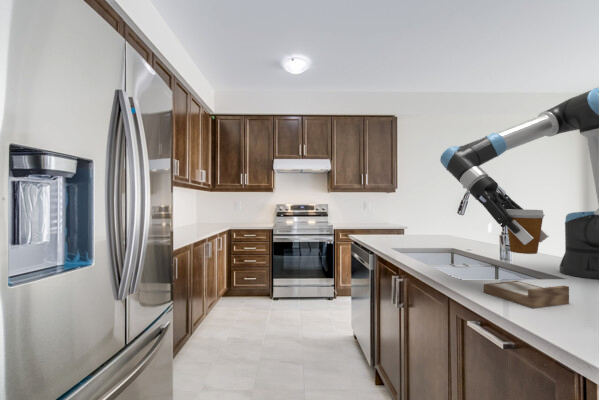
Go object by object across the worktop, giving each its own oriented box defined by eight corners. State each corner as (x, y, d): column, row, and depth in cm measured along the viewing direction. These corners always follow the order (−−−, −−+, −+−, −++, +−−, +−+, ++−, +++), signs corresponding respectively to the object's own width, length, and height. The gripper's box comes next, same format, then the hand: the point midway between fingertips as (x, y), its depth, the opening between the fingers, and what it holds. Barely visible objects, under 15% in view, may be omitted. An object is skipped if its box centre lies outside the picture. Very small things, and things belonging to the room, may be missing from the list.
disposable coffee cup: (551, 255, 87) (552, 210, 87) (512, 254, 89) (512, 210, 89) (534, 250, 96) (534, 209, 96) (498, 249, 98) (498, 209, 98)
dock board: (516, 288, 102) (516, 274, 102) (569, 303, 87) (569, 286, 87) (483, 292, 98) (483, 277, 98) (532, 308, 84) (532, 290, 84)
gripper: (488, 193, 111) (543, 246, 98) (450, 192, 100) (506, 252, 87) (505, 176, 107) (565, 229, 93) (467, 173, 96) (529, 233, 82)
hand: (536, 240), depth 90 cm, fingers closed on disposable coffee cup, 8 cm apart
